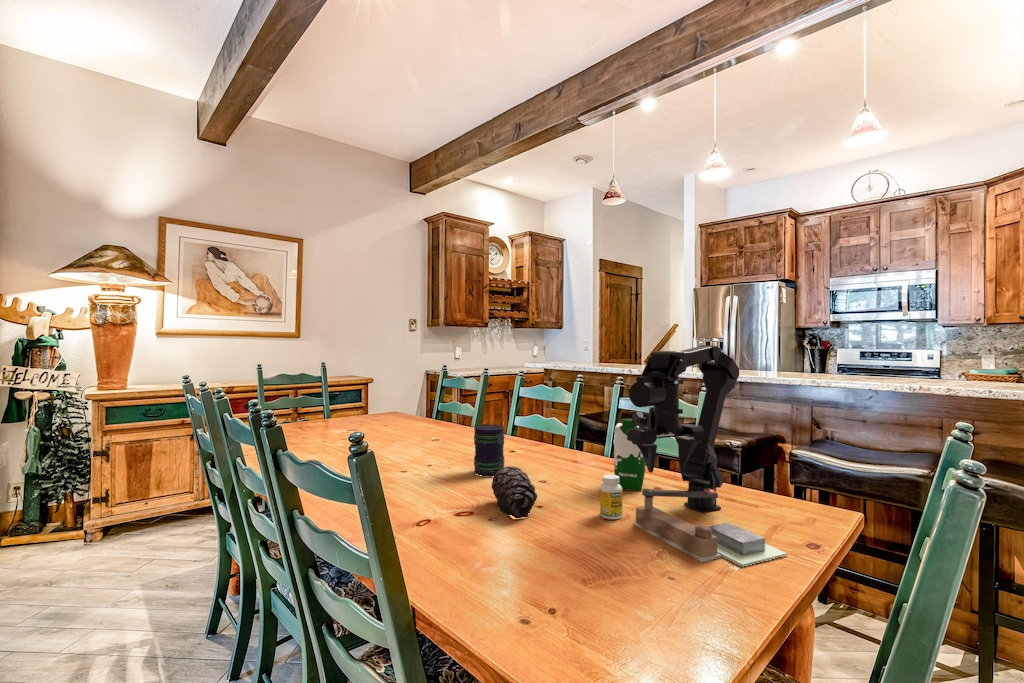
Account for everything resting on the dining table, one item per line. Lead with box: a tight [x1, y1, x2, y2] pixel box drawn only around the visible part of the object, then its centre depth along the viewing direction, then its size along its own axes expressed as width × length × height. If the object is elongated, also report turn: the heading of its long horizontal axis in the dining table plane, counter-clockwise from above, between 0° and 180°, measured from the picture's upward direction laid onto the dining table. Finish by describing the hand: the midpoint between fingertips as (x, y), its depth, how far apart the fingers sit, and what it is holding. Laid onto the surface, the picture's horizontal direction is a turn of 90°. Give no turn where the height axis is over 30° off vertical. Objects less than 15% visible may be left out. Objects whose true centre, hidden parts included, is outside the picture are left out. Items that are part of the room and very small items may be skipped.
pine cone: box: [491, 466, 538, 518], centre depth 120 cm, size 10×18×10 cm, turn 22°
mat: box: [717, 543, 788, 568], centre depth 97 cm, size 12×14×1 cm
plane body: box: [632, 496, 722, 563], centre depth 101 cm, size 21×5×7 cm, turn 23°
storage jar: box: [473, 424, 505, 476], centre depth 154 cm, size 10×10×15 cm
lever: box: [641, 488, 719, 499], centre depth 108 cm, size 16×3×2 cm, turn 84°
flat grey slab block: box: [707, 522, 766, 556], centre depth 97 cm, size 6×9×2 cm, turn 23°
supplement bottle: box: [599, 474, 623, 520], centre depth 115 cm, size 5×5×10 cm
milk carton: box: [613, 418, 646, 492], centre depth 139 cm, size 9×9×20 cm
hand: (666, 470), depth 112 cm, fingers open, 9 cm apart
